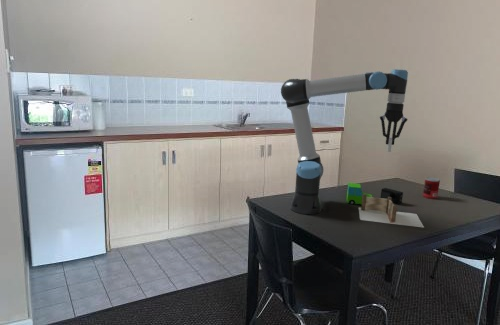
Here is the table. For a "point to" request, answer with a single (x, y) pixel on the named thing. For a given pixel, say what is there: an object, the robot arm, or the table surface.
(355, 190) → the toy car
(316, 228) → the table surface
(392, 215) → the fence gate
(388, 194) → the digital camera
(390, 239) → the table surface
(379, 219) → the card
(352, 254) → the table surface
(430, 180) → the canned food
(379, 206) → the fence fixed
